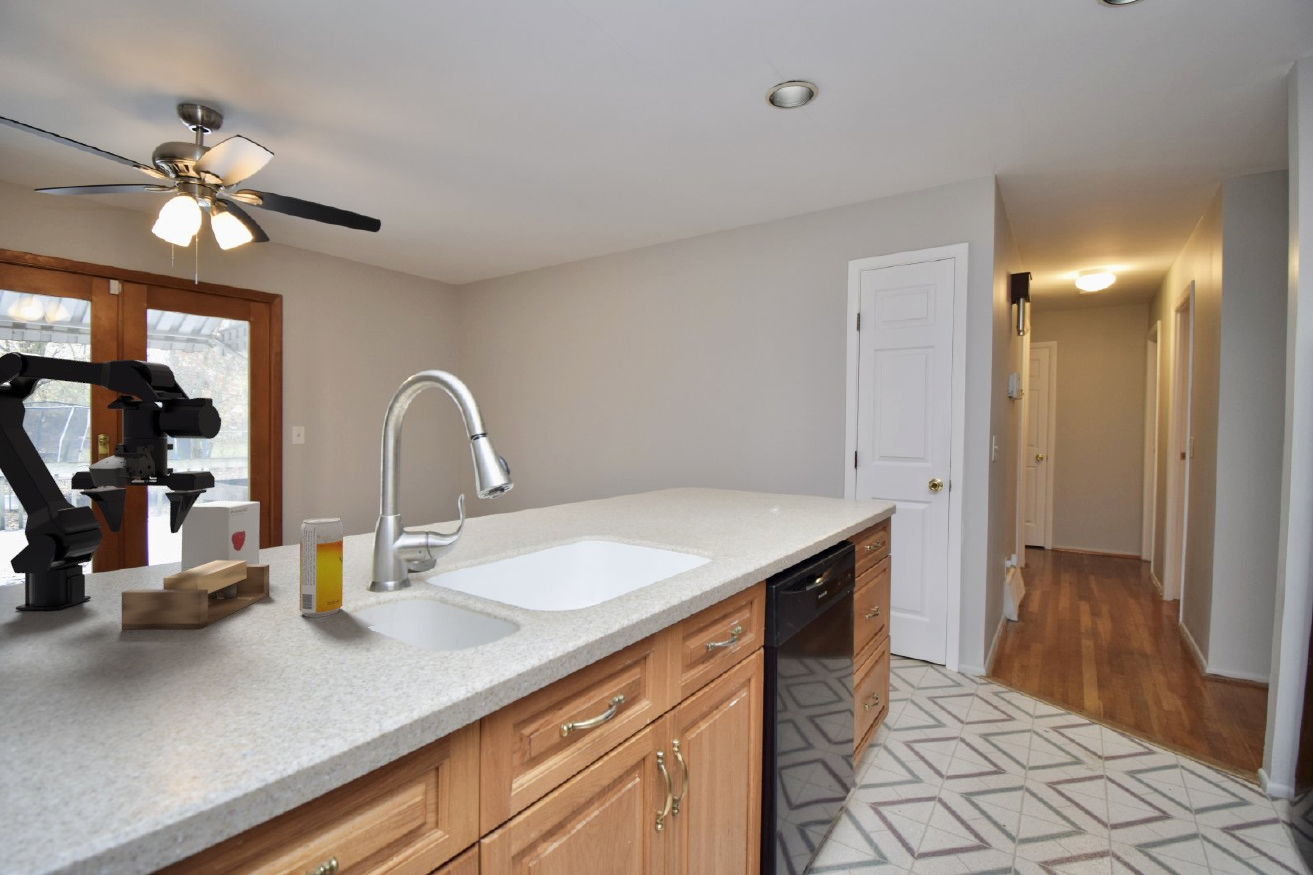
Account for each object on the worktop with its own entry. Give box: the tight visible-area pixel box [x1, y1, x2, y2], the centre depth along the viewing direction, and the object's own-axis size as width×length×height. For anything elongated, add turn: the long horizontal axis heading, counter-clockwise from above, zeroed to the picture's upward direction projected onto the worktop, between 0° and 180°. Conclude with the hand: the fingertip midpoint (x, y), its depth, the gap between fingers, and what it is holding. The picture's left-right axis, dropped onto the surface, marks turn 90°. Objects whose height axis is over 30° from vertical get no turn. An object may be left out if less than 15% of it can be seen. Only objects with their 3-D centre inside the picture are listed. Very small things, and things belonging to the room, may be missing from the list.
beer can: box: [299, 516, 344, 618], centre depth 99 cm, size 6×6×15 cm
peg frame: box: [121, 563, 270, 630], centre depth 99 cm, size 11×18×5 cm, turn 4°
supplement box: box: [180, 500, 261, 572], centre depth 116 cm, size 9×9×15 cm
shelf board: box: [162, 560, 247, 594], centre depth 98 cm, size 5×12×3 cm, turn 3°
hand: (145, 532), depth 101 cm, fingers open, 9 cm apart
